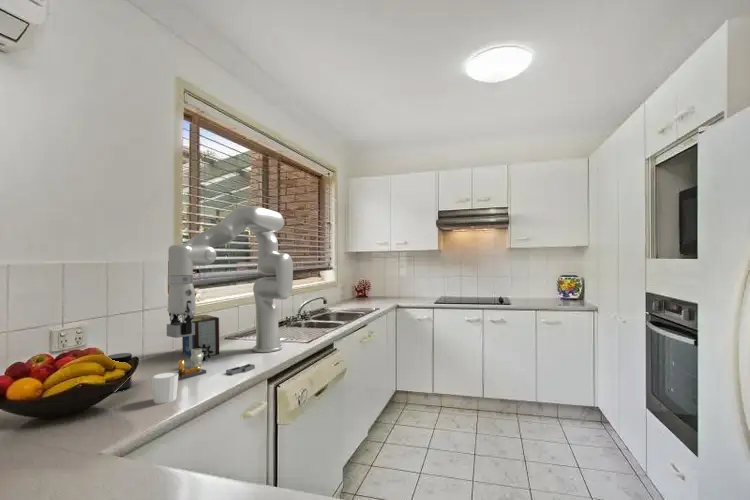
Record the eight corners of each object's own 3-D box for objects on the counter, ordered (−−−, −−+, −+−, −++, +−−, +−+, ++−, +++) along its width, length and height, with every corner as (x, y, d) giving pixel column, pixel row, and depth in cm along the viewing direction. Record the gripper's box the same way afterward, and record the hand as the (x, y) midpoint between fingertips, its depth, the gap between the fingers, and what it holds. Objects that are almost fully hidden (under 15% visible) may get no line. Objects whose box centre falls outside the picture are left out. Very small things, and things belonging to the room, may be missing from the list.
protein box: (206, 348, 176) (206, 314, 176) (219, 354, 164) (219, 317, 165) (181, 352, 169) (181, 316, 169) (193, 359, 157) (193, 320, 158)
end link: (185, 332, 138) (184, 321, 138) (195, 334, 134) (194, 323, 134) (166, 336, 133) (166, 324, 133) (176, 337, 129) (176, 325, 129)
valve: (204, 368, 144) (213, 360, 156) (204, 350, 144) (213, 343, 156) (185, 369, 143) (195, 360, 155) (185, 351, 143) (195, 344, 155)
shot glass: (184, 397, 113) (183, 372, 113) (164, 405, 107) (164, 379, 107) (165, 394, 115) (165, 370, 116) (145, 403, 109) (145, 377, 109)
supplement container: (133, 389, 121) (133, 355, 121) (106, 394, 116) (106, 359, 117) (130, 384, 126) (130, 351, 126) (105, 388, 122) (105, 355, 122)
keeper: (195, 370, 141) (195, 354, 141) (206, 373, 137) (206, 357, 137) (164, 378, 132) (164, 361, 132) (175, 381, 128) (175, 364, 128)
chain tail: (249, 366, 144) (249, 363, 144) (257, 368, 142) (257, 365, 142) (226, 373, 136) (226, 370, 136) (233, 375, 134) (233, 371, 134)
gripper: (205, 280, 132) (205, 333, 132) (178, 279, 142) (178, 329, 142) (183, 281, 126) (183, 337, 125) (157, 280, 136) (157, 332, 135)
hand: (181, 332), depth 134 cm, fingers closed on end link, 6 cm apart
